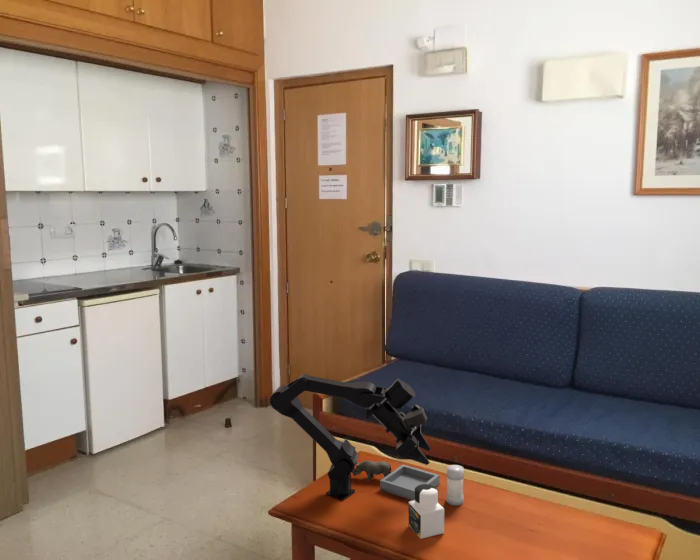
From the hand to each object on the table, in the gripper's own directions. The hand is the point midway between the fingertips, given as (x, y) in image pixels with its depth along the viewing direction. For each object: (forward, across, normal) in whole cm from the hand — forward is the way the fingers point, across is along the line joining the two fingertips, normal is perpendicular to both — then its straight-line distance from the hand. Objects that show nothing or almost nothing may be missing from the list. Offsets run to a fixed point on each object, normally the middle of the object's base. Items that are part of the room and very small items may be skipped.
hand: (429, 456), depth 184 cm
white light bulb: (+15, 0, +4) cm, 15 cm away
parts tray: (+5, +7, +14) cm, 16 cm away
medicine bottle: (+9, -16, +10) cm, 21 cm away
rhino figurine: (-4, +11, +23) cm, 25 cm away
